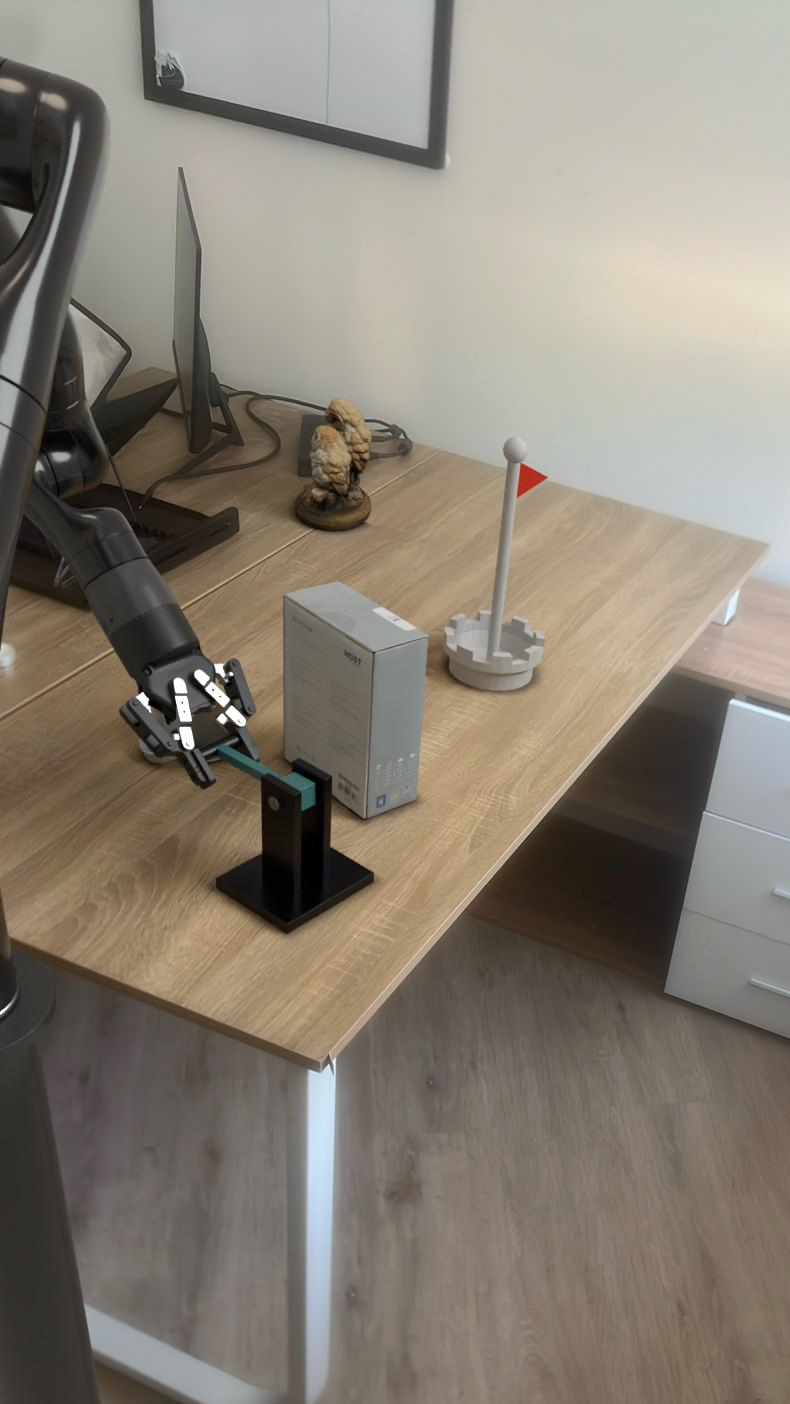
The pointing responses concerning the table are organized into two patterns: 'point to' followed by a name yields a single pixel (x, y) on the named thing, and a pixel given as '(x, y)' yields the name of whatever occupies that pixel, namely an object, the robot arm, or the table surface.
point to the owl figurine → (337, 471)
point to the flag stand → (498, 606)
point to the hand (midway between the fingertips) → (231, 775)
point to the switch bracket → (295, 856)
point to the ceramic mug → (201, 732)
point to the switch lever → (256, 766)
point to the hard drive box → (353, 695)
